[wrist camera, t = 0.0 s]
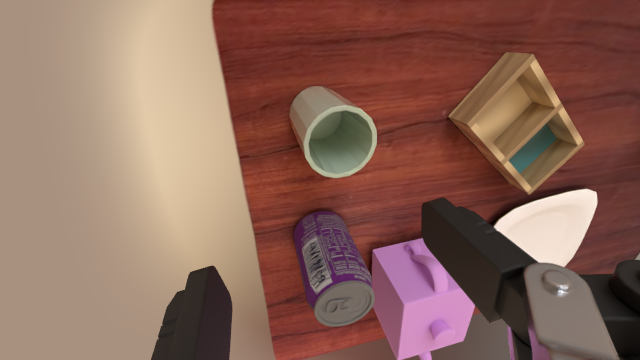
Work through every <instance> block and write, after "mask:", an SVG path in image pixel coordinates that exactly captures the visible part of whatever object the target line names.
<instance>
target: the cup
mask: <svg viewBox="0 0 640 360" xmlns="http://www.w3.org/2000/svg"><path fill="white" fill-rule="evenodd" d="M289 118H290V123H291V127H292V129H293V132H294V134H295V136H296V138H297V140H298V143H299V145H300V147H301V149H302V151H303V154H304V156H305V158H306V160H307V161H308V163H309V164H310V166H311V167H312V169H313V170H315V171H317V172H318V173H320V174H321V175H323V176H327V177H333V178H340V177H345V176H350V175H352V174H353V173H355V172H357V171H359V170H360V169H362V168H363V167H364V166H365V164H366V163H367V162H368V161H369V160H370V159H371V157H372V155H373V152H374V150H375V147H376V144H377V131H376V128H375V125H374V123H373V121H372V119H371V117H370V116H368V115H367V114H366V113H365V112H364V111H363V110H362V109H360V108H359V107H357V106H356V105H354V104H353V103H351V102H350V101H348V100H347V99H345V98H344V97H342V96H341V95H339V94H338V93H336V92H335V91H333V90H332V89H329V88H326V87H322V86H314V87H310V88H307V89H305V90H303V91H302V92H300V93H299V94H298V95H297V96H296V98H295V99H294V101H293V102H292V105H291V108H290V113H289Z"/></svg>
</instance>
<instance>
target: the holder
mask: <svg viewBox="0 0 640 360" xmlns="http://www.w3.org/2000/svg"><path fill="white" fill-rule="evenodd" d="M448 117H449V118H450V119H451V120H452V122H453V123H454V124H455V125H456V126H457V127H458V128H459V129H460V130H461V131H462V132H463V133H464V135H465V136H466V137H467V138H468V139H469V140H470V141H471V142H472V143H473V144H474V145H475V146H476V148H477V149H478V150H479V151H480V152H481V153H482V154H483V155H484V156H485V157H486V158H487V159H488V160H489V162H490V163H491V164H492V165H493V166H494V167H495V168H496V169H497V170H498V171H499V172H500V173H501V175H502V176H503V177H504V178H505V179H506V180H507V181H508V182H509V183H510V184H512V185H513V186H515V187H517V188H519V189H520V190H522V191H524V192H526V193H527V194H529V195H530V194H531V193H532V192H533V191H534V190H535V189H536V188H537V187H539V186H540V185H541V184H542V183H543V182H544V181H545V180H546V179H547V178H548V177H550V176H551V175H552V174H553V173H554V172H555V171H556V170H557V169H558V168H559V167H560V166H562V165H563V164H564V163H565V162H566V161H567V160H568V159H569V158H570V157H571V156H573V155H574V154H575V153H576V152H577V151H578V150H579V149H580V148H581V147H582V146H583V145H584V142H583V140H582V139H581V137H580V135H579V133H578V132H577V130H576V128H575V126H574V125H573V123H572V121H571V120H570V118H569V116H568V114H567V113H566V111H565V109H564V107H563V105H562V104H561V102H560V100H559V99H558V97H557V95H556V93H555V92H554V90H553V88H552V86H551V85H550V83H549V81H548V79H547V78H546V76H545V74H544V72H543V71H542V69H541V67H540V66H539V64H538V62H537V60H536V59H535V57H534V55H533V54H525V53H511V52H506V53H505V54H504V55H503V56H502V57H501V58H500V60H499V61H498V62H497V63H496V64H495V65H494V66H493V67H492V68H491V69H490V71H489V72H488V73H487V74H486V75H485V76H484V77H483V78H482V79H481V80H480V82H479V83H478V84H477V85H476V86H475V87H474V88H473V89H472V90H471V91H470V93H469V94H468V95H467V96H466V97H465V98H464V99H463V100H462V101H461V102H460V104H459V105H458V106H457V107H456V108H455V109H454V110H453V111H452V112H451V113H450V114H449V116H448Z"/></svg>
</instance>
